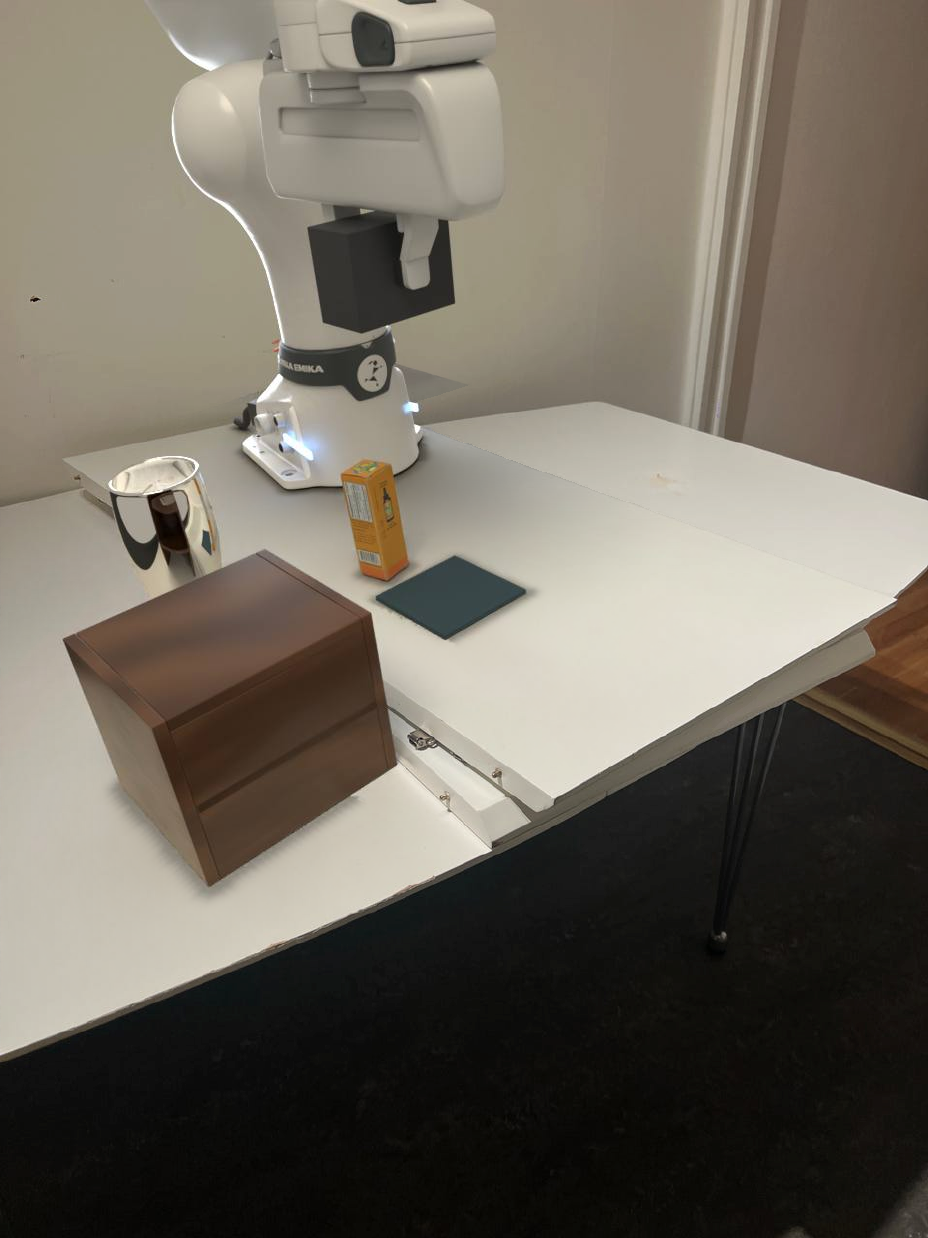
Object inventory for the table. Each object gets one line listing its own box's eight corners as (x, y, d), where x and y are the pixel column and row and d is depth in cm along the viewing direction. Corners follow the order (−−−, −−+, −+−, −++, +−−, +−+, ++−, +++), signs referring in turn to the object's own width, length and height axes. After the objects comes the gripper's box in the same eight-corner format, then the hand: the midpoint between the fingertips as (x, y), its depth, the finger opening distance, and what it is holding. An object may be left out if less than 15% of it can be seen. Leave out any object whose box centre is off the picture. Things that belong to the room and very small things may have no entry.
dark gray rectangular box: (322, 322, 60) (306, 226, 57) (415, 294, 64) (405, 203, 61) (361, 334, 57) (347, 233, 54) (455, 303, 62) (447, 208, 58)
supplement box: (380, 557, 83) (364, 455, 78) (410, 565, 81) (395, 462, 76) (356, 574, 81) (338, 470, 76) (386, 583, 79) (370, 478, 74)
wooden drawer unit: (121, 786, 60) (61, 638, 54) (298, 689, 68) (264, 548, 61) (208, 887, 52) (151, 728, 46) (397, 764, 60) (372, 612, 53)
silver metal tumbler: (166, 680, 70) (107, 504, 62) (154, 635, 75) (99, 469, 67) (254, 653, 72) (209, 480, 64) (236, 612, 77) (193, 447, 69)
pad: (376, 599, 77) (375, 595, 77) (455, 558, 82) (454, 554, 82) (445, 639, 71) (444, 635, 71) (526, 593, 76) (525, 589, 76)
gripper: (218, 42, 57) (262, 271, 65) (425, 26, 44) (450, 316, 52) (302, 34, 60) (334, 252, 68) (518, 16, 47) (528, 290, 55)
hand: (386, 280), depth 60 cm, fingers closed on dark gray rectangular box, 4 cm apart
